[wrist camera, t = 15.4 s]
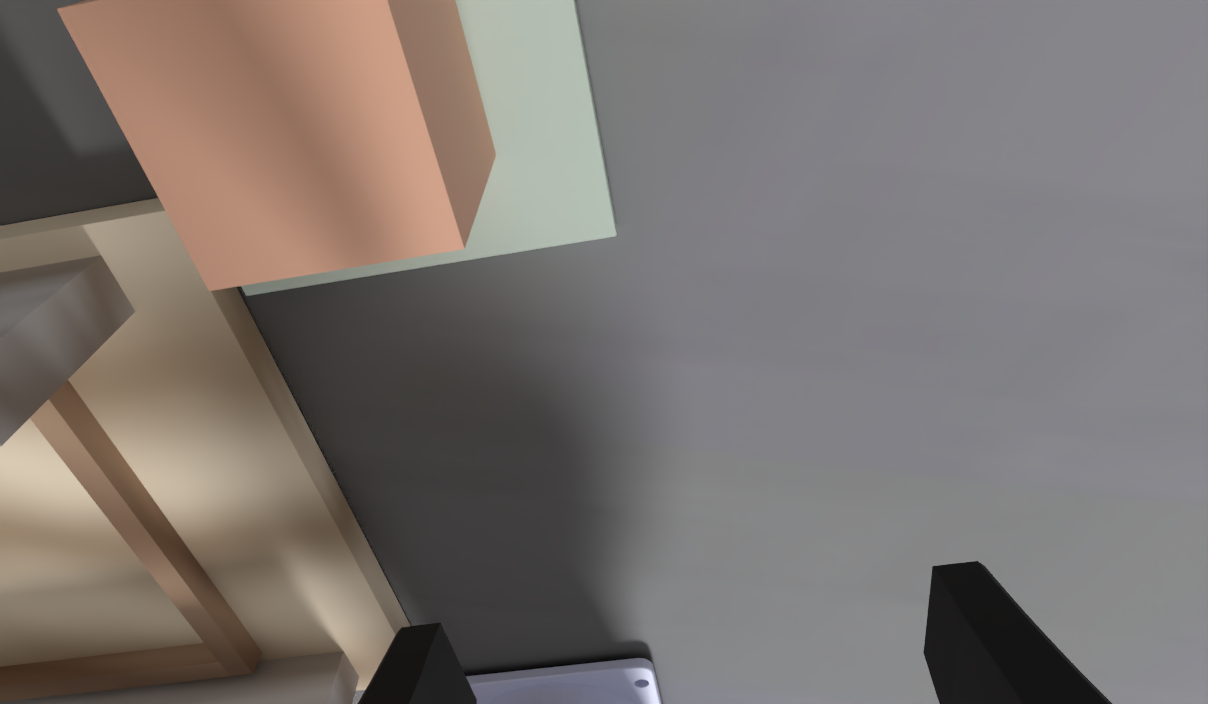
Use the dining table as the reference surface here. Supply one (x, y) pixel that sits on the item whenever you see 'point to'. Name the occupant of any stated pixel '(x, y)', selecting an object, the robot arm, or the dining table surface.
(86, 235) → the beige wooden low frame
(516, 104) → the sage pad
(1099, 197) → the dining table surface
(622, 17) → the dining table surface
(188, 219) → the terracotta block
